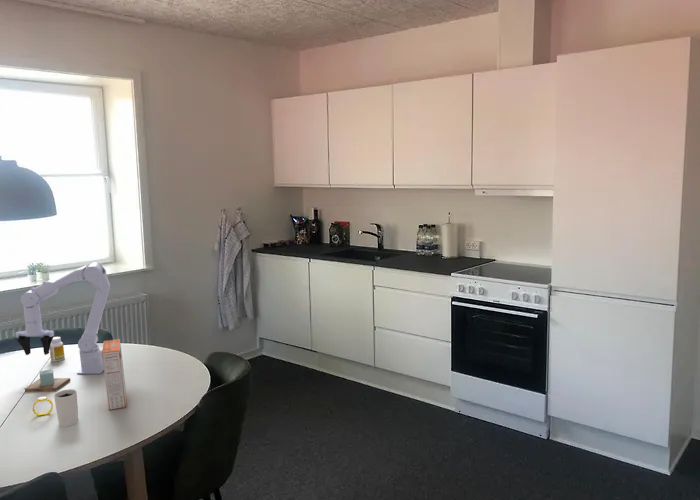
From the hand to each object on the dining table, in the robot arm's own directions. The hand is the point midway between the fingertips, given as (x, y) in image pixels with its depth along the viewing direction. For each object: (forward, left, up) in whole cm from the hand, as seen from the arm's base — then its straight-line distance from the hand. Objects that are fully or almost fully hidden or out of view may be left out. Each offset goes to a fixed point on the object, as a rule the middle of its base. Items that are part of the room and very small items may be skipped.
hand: (37, 354), depth 231 cm
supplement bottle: (+4, -20, -10) cm, 23 cm away
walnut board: (-9, +10, -9) cm, 16 cm away
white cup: (-34, +41, -10) cm, 54 cm away
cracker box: (-43, +25, -10) cm, 51 cm away
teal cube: (-9, +10, -8) cm, 16 cm away
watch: (-22, +35, -10) cm, 42 cm away
